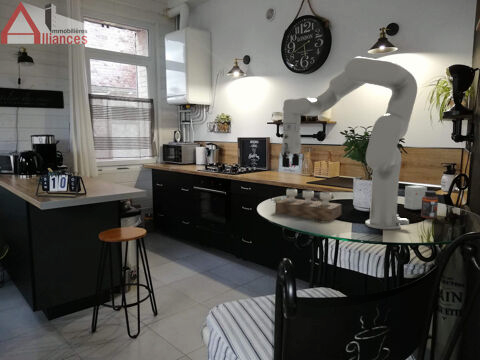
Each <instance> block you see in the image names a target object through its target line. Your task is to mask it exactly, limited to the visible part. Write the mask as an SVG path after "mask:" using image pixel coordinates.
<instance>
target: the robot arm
mask: <svg viewBox="0 0 480 360" xmlns="http://www.w3.org/2000/svg"><path fill="white" fill-rule="evenodd" d="M365 84H370V85H374V86H380V87H384V88H386V89H390V90H391V96H390V98H389V101H388V104H387V107H386V111H385V113H384V114H383V115H381V116H379V117H378V118H377V119H376V120H375V122H374V124H373V126H372V130H371V134H370V137H369V141H368V145H367V148H366V151H365V152H366V153H365V163H366V164H367V166H368V167H369V168H370V169H371V170H372V174H371V177H372V184H371V203H370V202H369V204H370V209H369V219H367V220H365V225H366V226H367V227H369V228H373V229H378V230H385V231H386V230H391V231H392V230H398V229H400V228H401V226H402V225H405V226H409V224H410V220H409V219H407V218H401V217H400V216H399V214H398V197H399V184H400V183H399V179H400V172H401V165H402V153H401V150H400V149H399V147H398V144H399V140H401V139H402V138H404V137H405V135H406V134H407V131H408V128H409V124H410V120H411V118H412V114H413V110H414V105H415V103H416V99H417V94H418V84H417V79H416V78H415V77H414V75H413V74H412V73H411V72H410V71H409V70H408V69H406V68H404V67H403V66H401V65H400V64H398V63H396V62H394V61H391V60H384V59H376V58H375V59H374V58H371V57H362V56H355V57H353V58H351V59H349V60H348V61H347V63H346V64H345V66H344V71H342V72H341V73H339V74H337V75H336V76H335V77H333V78H332V79H330V81H329V86H328V88H327V89H326V90H325V91H324V92H323V93H321V94H320V95H318V96H317V97H315V98H311V97H301V98H289V99H285V100H284V101H283V111H282V113H283V115H282V116H283V117H282V121H283V124H282V132H283V133H282V141H281V142H282V143H281V144H282V146H281V148H280V152H281V158H282V160H281V165H282V166H281V167H282V168H290V158H289V157H290V155H291V154H292V157H291V165H292V166H295V167H299V165H300V153H301V152H302V140H301V139H302V137H301V116H302V117H303V116H304V117H316V116H321V114H323V113H325V112H326V111H329V110H330V109H331V108H333V107H334V106H335V105H337V104H338V103H339V102H340V101H341V99H342V98H344V97H346V96H347V95H350V93H352V92H354V91H355V90H357V89H359V88H360V87H362V86H363V85H365Z"/></svg>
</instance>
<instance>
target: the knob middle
mask: <svg viewBox="0 0 480 360" xmlns="http://www.w3.org/2000/svg"><path fill="white" fill-rule="evenodd" d="M314 193H315V192H314V190H302V198H304V200H305V204H311V201H312V198H314V197H315V196H314V195H315V194H314Z"/></svg>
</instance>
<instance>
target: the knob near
mask: <svg viewBox="0 0 480 360" xmlns="http://www.w3.org/2000/svg"><path fill="white" fill-rule="evenodd" d="M319 199H320V200H322V201H321V202H322V206H328V205H329V203H330V200H332V192H326V191H322V192H319Z"/></svg>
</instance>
